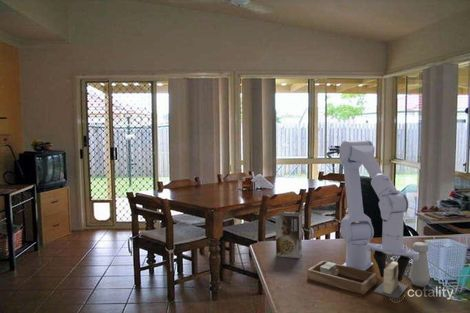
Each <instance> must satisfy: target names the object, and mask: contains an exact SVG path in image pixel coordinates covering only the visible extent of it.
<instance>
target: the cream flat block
mask: <svg viewBox="0 0 470 313" xmlns="http://www.w3.org/2000/svg"><path fill="white" fill-rule="evenodd" d="M383 282H384V289H383V292H385V293H389V294H391V293H392V292H393V291H394V289H395V288H396V287H397V286H398V285H399V284H400V281H398V262H397V261H393V260H392V262H390V263H389V264H388V265H387V266H385V269H384V277H383Z"/></svg>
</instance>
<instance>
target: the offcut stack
mask: <svg viewBox="0 0 470 313" xmlns="http://www.w3.org/2000/svg"><path fill="white" fill-rule="evenodd" d="M336 264H337V263H336V262H335V263H334V262H332V261H331V262H330V261H327V263H325V264H324V265H322V266H321V267H320V272H322V273H325V274H329V275H333V276H337V277H338V275H340V274H339V269H337V268H336Z"/></svg>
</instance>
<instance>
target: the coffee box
mask: <svg viewBox="0 0 470 313" xmlns="http://www.w3.org/2000/svg"><path fill="white" fill-rule="evenodd" d="M302 221H303V219H302V212H301V211H284V210H283V211H278V212H277V213H276V214H275V256H276V257H283V258H293V259H300V258H301V256H302V253H303V250H302V249H303V245H302V243H303V242H302V241H303V240H302V239H303V236H302V235H303V233H302V223H303V222H302Z"/></svg>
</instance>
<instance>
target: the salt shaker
mask: <svg viewBox="0 0 470 313" xmlns="http://www.w3.org/2000/svg"><path fill="white" fill-rule="evenodd" d="M412 251H415V252H419V259H418V260H417V261H416V260H413V259H412V263H411V266H410V270H409V274H408V277H409V278H410V281H411V284H412V285H414V286H416V287H423V288H424V287H427V286H428V283H429V282H430V279H431V274H430V267H429V261H428V257H427V255H428V254H427V252H429V245H428V244H427V243H425V242H421V241H416V242H414V243H413V244H412Z"/></svg>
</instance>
